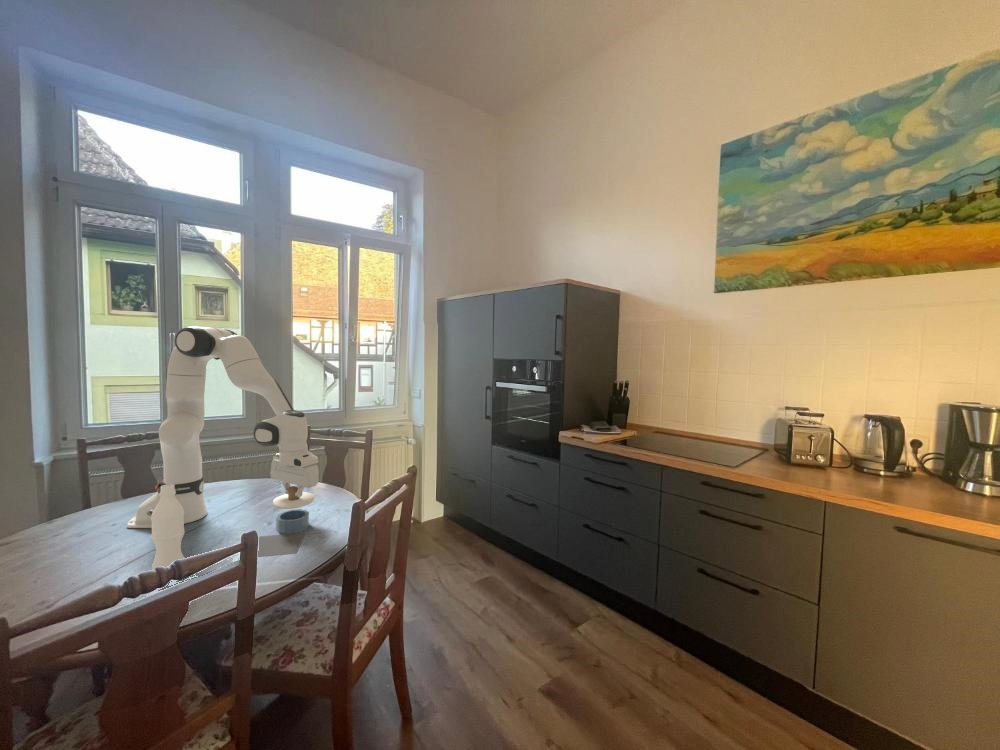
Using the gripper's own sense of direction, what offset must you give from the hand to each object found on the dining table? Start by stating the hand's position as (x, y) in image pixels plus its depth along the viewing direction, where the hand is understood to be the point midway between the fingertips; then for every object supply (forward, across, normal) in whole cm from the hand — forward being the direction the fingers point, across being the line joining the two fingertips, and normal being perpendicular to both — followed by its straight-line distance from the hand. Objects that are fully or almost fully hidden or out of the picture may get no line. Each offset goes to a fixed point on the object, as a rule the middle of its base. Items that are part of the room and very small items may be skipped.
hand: (293, 495), depth 141 cm
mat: (+12, +6, -11) cm, 18 cm away
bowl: (+12, 0, 0) cm, 12 cm away
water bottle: (+12, -6, -35) cm, 38 cm away
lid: (+2, 0, 0) cm, 2 cm away
